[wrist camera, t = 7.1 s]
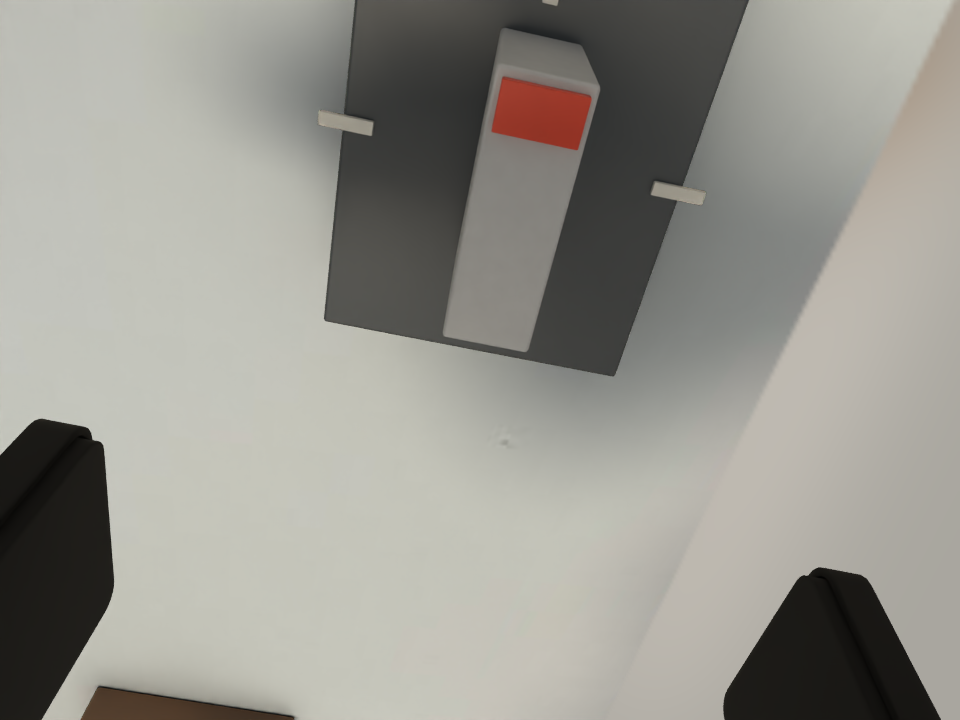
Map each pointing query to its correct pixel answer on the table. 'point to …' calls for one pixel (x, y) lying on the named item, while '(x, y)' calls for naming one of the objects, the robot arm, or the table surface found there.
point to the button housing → (161, 708)
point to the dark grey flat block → (453, 145)
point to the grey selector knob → (520, 187)
